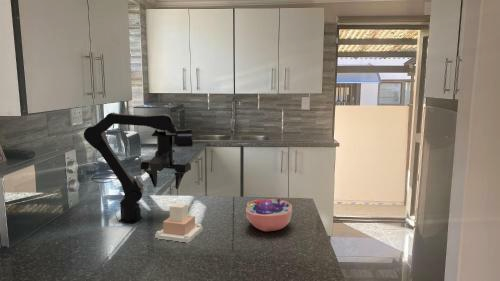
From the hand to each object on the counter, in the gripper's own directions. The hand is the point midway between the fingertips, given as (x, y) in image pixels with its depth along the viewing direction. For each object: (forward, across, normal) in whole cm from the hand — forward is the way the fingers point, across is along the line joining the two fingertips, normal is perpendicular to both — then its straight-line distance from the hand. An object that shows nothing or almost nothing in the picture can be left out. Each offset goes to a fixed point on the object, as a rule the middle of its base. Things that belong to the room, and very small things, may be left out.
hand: (166, 187), depth 142 cm
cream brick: (+6, +12, -13) cm, 19 cm away
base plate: (+12, +12, -13) cm, 21 cm away
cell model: (+12, +40, +2) cm, 42 cm away
